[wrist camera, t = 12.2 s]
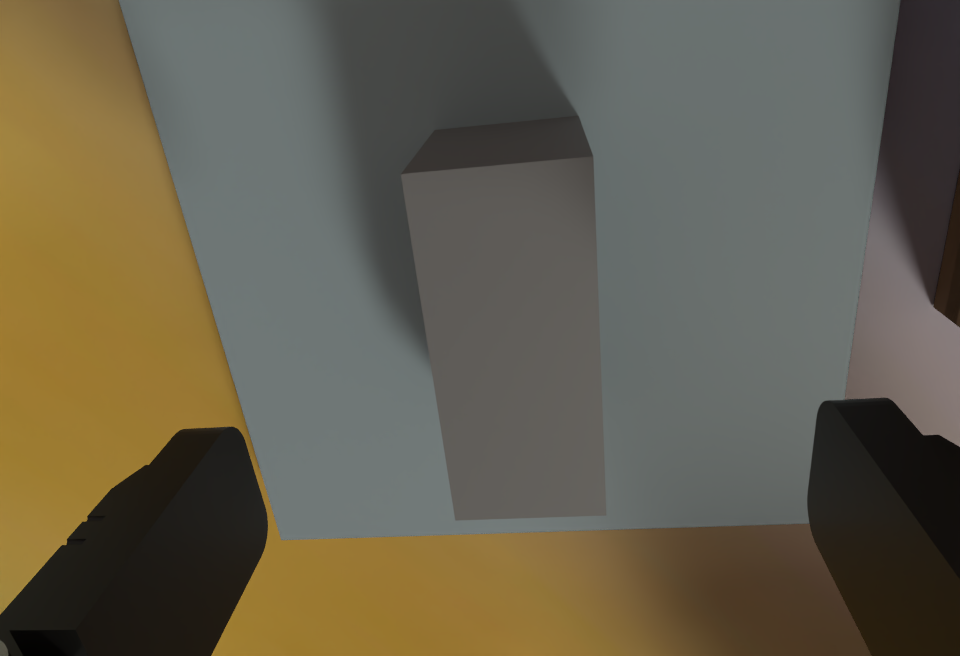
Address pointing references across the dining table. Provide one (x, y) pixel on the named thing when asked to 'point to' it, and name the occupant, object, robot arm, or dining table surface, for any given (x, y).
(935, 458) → the robot arm
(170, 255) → the dining table surface
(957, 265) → the box
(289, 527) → the lid
